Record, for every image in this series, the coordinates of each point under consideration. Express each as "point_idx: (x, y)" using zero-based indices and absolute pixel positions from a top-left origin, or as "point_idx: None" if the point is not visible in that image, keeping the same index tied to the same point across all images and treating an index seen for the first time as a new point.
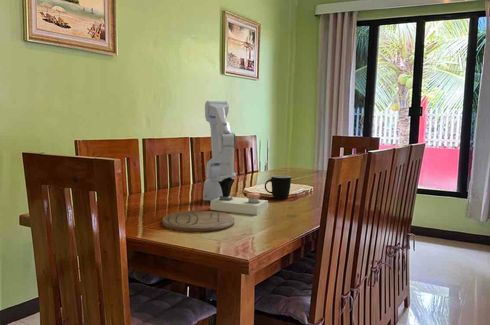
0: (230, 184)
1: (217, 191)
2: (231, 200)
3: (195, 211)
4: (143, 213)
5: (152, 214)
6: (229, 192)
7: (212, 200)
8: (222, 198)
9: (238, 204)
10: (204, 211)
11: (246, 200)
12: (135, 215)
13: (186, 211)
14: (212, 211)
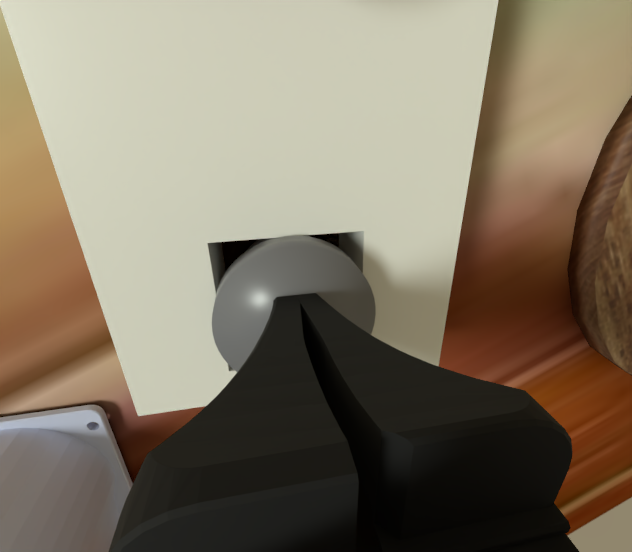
0: (367, 382)
1: (56, 536)
2: (321, 220)
3: (618, 323)
4: (581, 495)
5: (594, 464)
6: (295, 313)
7: None
8: (369, 317)
9: (488, 27)
10: (614, 276)
11: (193, 11)
12: (619, 491)
13: (624, 363)
14: (608, 225)
